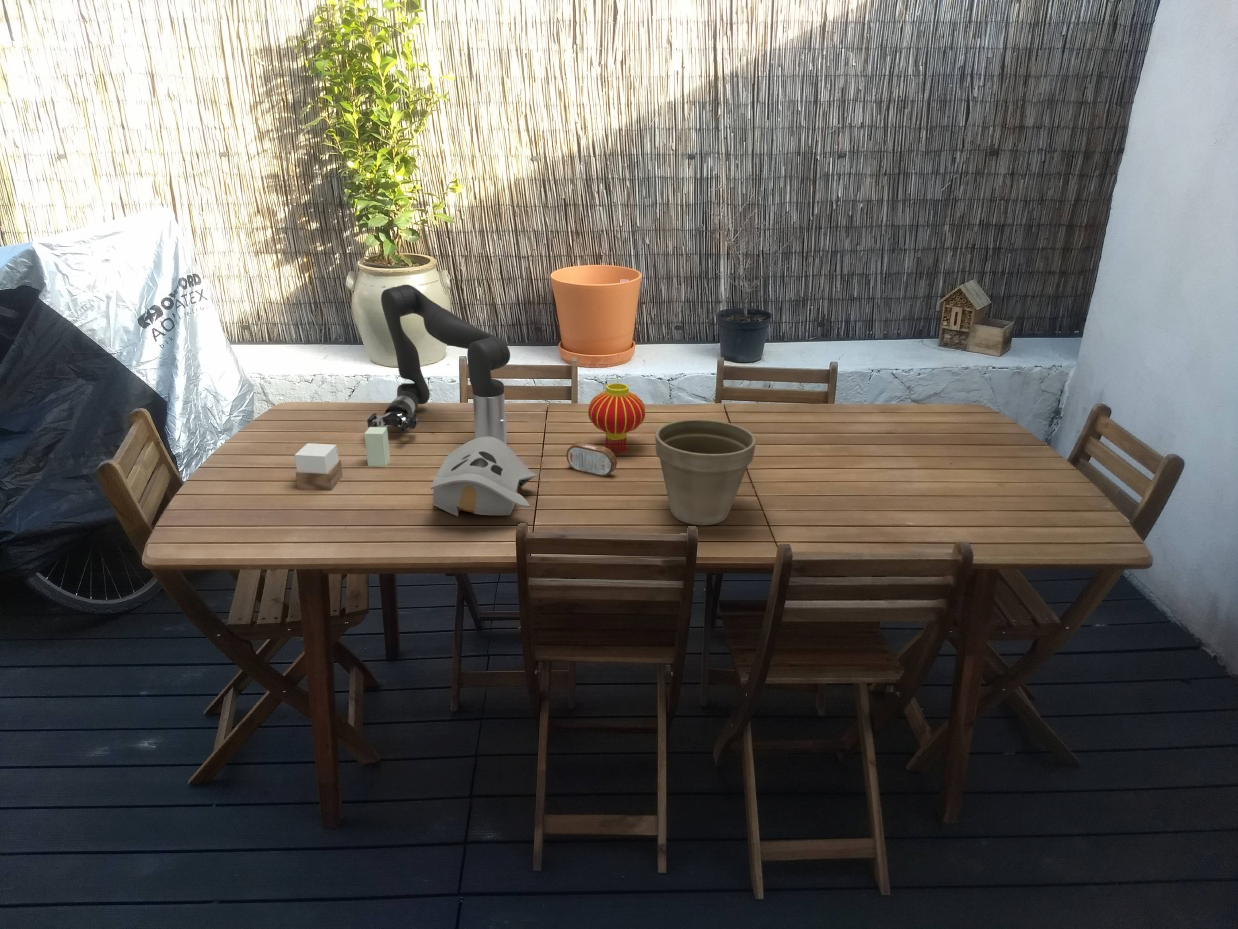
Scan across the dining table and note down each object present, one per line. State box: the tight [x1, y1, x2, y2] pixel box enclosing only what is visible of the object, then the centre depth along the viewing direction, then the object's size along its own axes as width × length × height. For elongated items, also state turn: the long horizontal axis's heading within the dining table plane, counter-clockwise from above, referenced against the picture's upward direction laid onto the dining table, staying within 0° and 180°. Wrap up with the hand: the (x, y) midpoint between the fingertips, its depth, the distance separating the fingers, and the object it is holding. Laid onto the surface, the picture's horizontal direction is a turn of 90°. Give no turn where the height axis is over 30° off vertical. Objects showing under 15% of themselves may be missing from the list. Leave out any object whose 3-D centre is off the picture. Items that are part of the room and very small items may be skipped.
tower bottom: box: [295, 459, 344, 491], centre depth 216 cm, size 9×9×5 cm
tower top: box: [294, 442, 339, 474], centre depth 214 cm, size 8×8×5 cm
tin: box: [565, 441, 618, 477], centre depth 226 cm, size 15×3×8 cm, turn 65°
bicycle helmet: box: [429, 437, 539, 517], centre depth 205 cm, size 28×26×16 cm
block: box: [364, 426, 391, 468], centre depth 228 cm, size 5×5×10 cm
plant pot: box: [654, 418, 757, 526], centre depth 202 cm, size 25×25×22 cm
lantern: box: [587, 353, 646, 454], centre depth 237 cm, size 17×17×30 cm
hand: (386, 430), depth 237 cm, fingers open, 8 cm apart
